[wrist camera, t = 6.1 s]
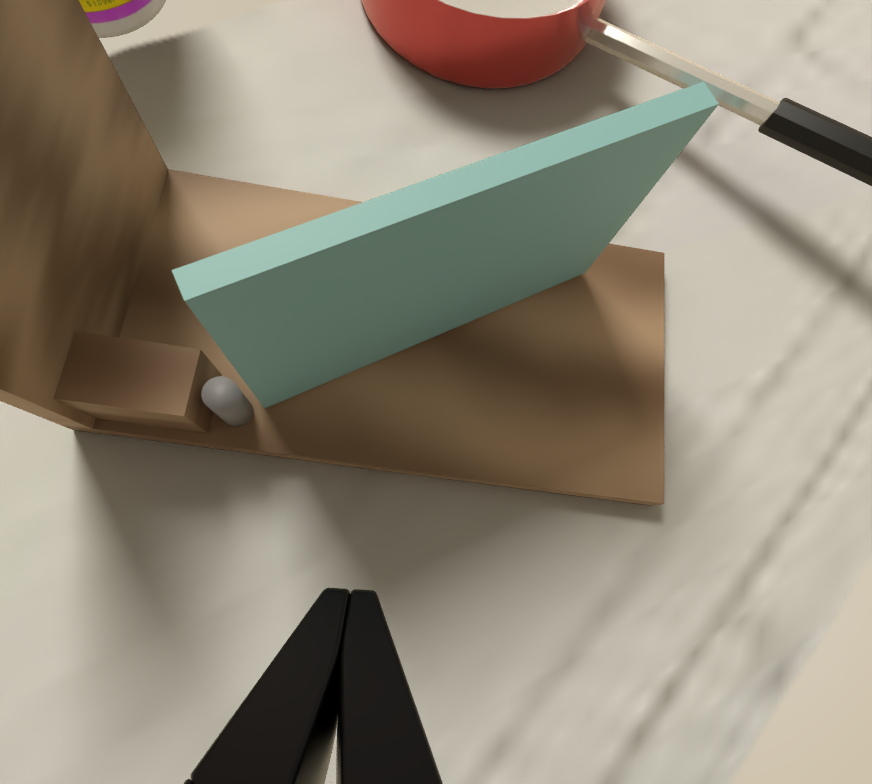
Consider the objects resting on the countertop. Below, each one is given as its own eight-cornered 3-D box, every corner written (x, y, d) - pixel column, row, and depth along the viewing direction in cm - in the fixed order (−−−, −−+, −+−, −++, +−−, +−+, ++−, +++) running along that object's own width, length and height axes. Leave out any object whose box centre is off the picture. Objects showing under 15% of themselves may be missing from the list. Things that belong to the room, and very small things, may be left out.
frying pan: (924, 159, 31) (1059, 64, 25) (848, 340, 28) (985, 281, 21) (440, -128, 33) (457, -282, 27) (306, 7, 29) (290, -136, 23)
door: (585, 279, 25) (722, 109, 16) (228, 431, 22) (113, 335, 12) (571, 255, 26) (697, 73, 16) (216, 402, 22) (93, 284, 12)
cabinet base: (652, 505, 24) (912, 466, 13) (72, 429, 22) (-246, 302, 11) (654, 263, 27) (861, 56, 16) (148, 179, 25) (-34, -126, 14)
